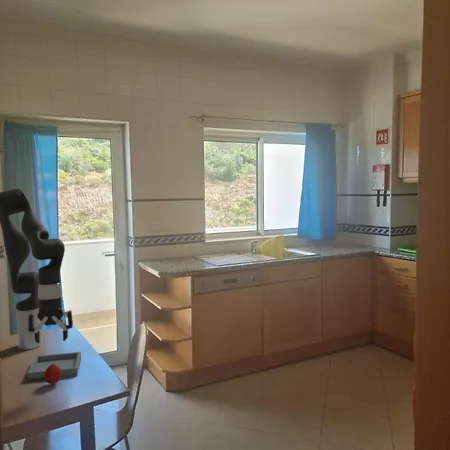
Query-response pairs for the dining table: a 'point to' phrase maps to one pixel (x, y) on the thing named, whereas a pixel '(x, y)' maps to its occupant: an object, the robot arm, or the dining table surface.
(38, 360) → the tray
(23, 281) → the robot arm
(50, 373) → the onion
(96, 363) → the dining table surface
